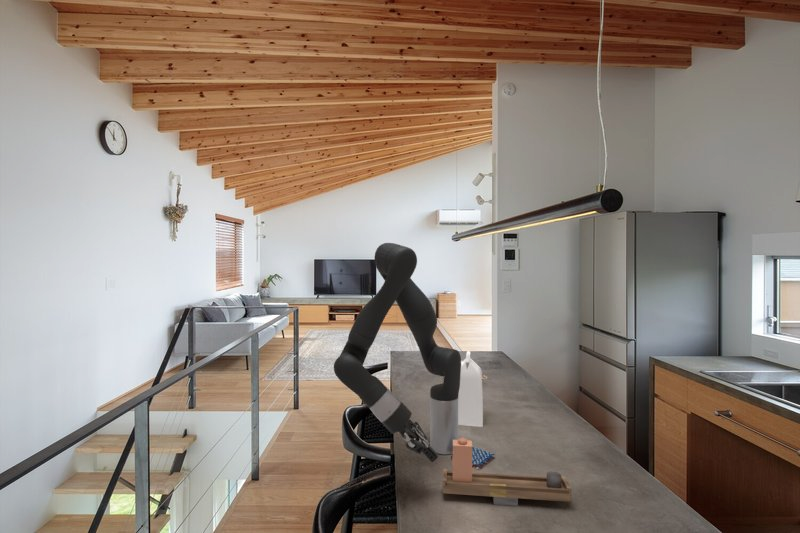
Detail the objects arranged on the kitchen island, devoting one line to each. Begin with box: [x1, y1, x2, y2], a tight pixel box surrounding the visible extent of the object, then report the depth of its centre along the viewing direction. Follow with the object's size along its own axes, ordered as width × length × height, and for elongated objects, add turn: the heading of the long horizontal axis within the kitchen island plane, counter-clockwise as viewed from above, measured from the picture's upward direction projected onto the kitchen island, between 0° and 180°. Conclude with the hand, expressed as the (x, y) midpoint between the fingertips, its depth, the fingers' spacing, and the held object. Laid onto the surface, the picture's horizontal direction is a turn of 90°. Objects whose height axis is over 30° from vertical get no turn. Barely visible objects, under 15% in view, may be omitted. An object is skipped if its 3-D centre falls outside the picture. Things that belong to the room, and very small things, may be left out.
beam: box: [442, 468, 572, 507], centre depth 111 cm, size 6×32×7 cm, turn 84°
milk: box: [458, 350, 484, 428], centre depth 164 cm, size 12×12×26 cm
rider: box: [452, 436, 473, 483], centre depth 112 cm, size 4×5×11 cm
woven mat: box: [450, 446, 495, 470], centre depth 133 cm, size 10×11×2 cm
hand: (435, 458), depth 113 cm, fingers closed
